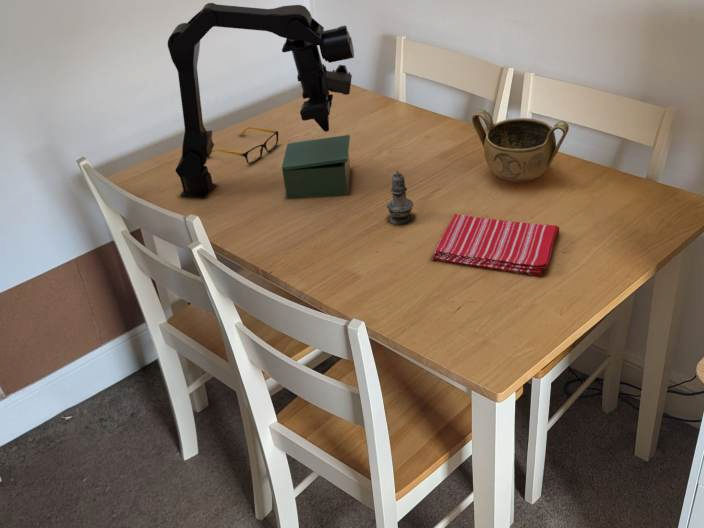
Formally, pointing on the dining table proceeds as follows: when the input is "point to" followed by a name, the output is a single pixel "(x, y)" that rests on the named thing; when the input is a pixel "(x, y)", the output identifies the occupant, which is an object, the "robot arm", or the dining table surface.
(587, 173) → the dining table surface
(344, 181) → the tin
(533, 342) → the dining table surface
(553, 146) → the ceramic bowl
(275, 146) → the eyeglasses
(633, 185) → the dining table surface
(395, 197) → the dark grey tall piece
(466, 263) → the dish towel
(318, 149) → the lid
